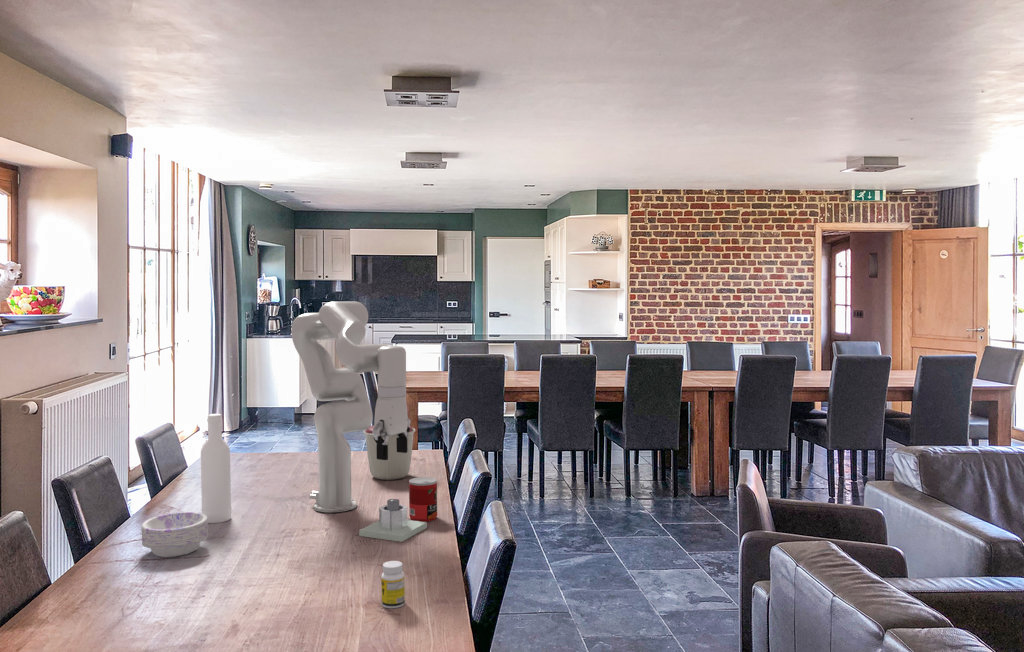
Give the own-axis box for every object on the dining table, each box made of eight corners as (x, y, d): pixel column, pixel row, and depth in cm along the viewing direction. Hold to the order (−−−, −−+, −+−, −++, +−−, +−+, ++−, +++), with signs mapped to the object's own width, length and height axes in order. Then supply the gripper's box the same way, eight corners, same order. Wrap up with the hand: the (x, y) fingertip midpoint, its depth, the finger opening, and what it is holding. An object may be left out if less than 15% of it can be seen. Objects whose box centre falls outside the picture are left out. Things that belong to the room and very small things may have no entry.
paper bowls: (143, 565, 181) (142, 532, 181) (141, 547, 195) (140, 516, 195) (212, 555, 188) (211, 523, 188) (205, 538, 202) (204, 508, 202)
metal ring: (375, 528, 204) (374, 509, 204) (389, 521, 211) (389, 503, 211) (397, 531, 202) (397, 512, 201) (411, 524, 208) (411, 505, 208)
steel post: (385, 527, 205) (384, 501, 205) (391, 523, 208) (391, 498, 208) (395, 528, 204) (395, 502, 204) (401, 525, 207) (401, 499, 207)
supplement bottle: (382, 600, 160) (382, 560, 159) (405, 599, 160) (405, 559, 160) (380, 609, 155) (380, 568, 155) (404, 608, 155) (403, 567, 155)
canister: (426, 474, 272) (425, 415, 272) (392, 485, 257) (391, 422, 256) (387, 468, 282) (387, 411, 281) (352, 478, 267) (352, 418, 266)
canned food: (432, 523, 214) (432, 483, 214) (405, 521, 216) (405, 482, 215) (440, 515, 222) (440, 477, 221) (414, 513, 223) (413, 476, 223)
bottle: (236, 519, 219) (234, 414, 218) (209, 525, 213) (207, 417, 212) (223, 513, 224) (221, 411, 223) (196, 519, 219) (194, 414, 218)
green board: (359, 535, 203) (359, 530, 203) (386, 522, 215) (386, 517, 215) (401, 541, 198) (401, 536, 198) (426, 527, 210) (426, 522, 210)
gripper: (397, 388, 215) (397, 448, 216) (361, 395, 199) (362, 461, 200) (420, 389, 212) (420, 450, 213) (386, 397, 196) (386, 463, 197)
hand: (392, 455), depth 206 cm, fingers open, 9 cm apart
